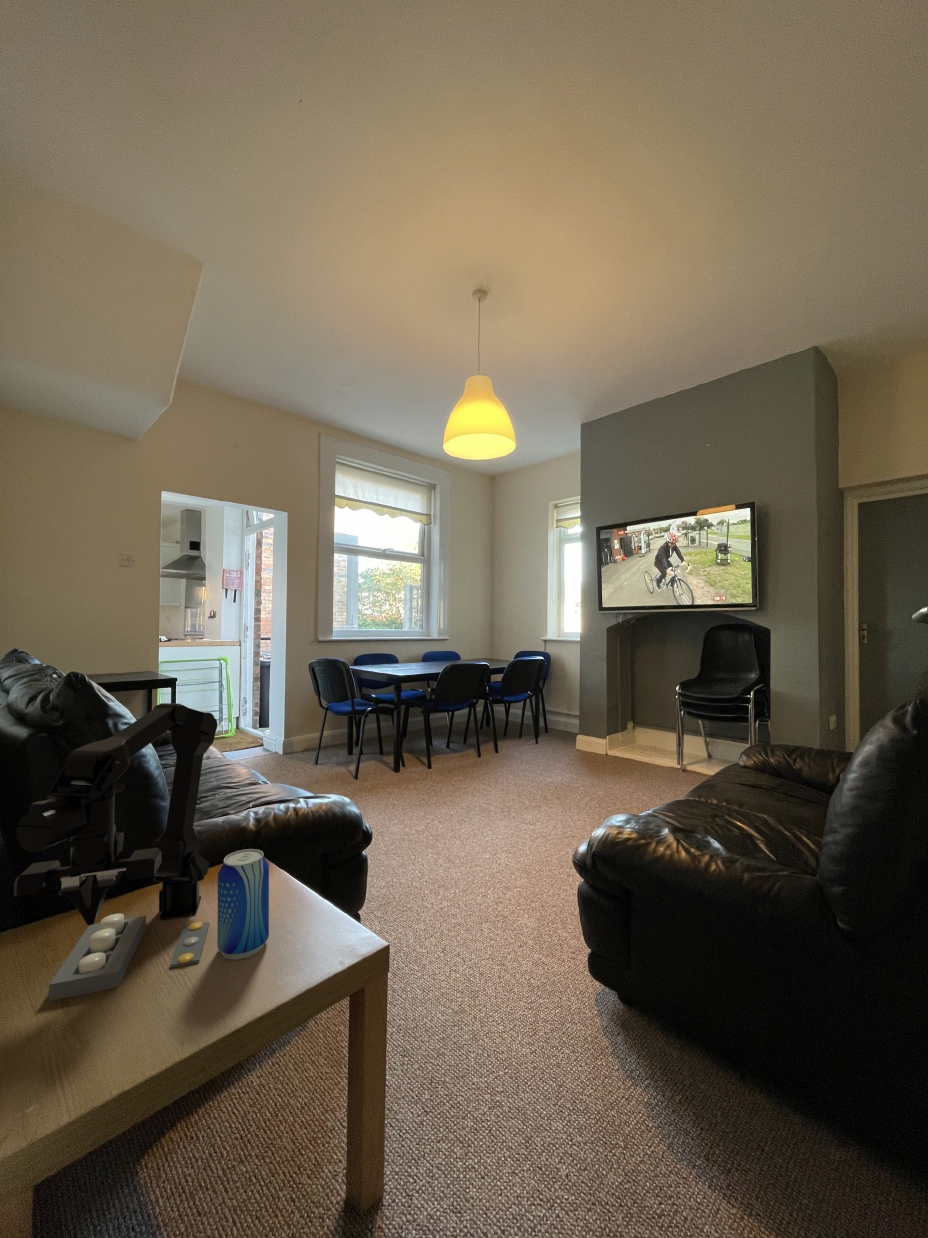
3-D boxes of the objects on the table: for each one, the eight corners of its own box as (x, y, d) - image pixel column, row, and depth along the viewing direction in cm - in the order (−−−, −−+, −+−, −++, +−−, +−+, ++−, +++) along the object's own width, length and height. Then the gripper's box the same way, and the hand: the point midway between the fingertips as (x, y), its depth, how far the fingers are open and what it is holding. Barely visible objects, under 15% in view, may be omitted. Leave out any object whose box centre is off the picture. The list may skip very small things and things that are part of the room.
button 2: (126, 926, 95) (126, 912, 95) (120, 936, 91) (120, 922, 92) (104, 929, 94) (104, 915, 94) (97, 940, 90) (97, 926, 90)
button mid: (117, 941, 90) (118, 927, 90) (111, 953, 87) (111, 938, 87) (94, 945, 89) (94, 930, 89) (86, 957, 86) (87, 942, 86)
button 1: (108, 966, 85) (108, 950, 85) (101, 979, 82) (101, 963, 82) (83, 970, 84) (83, 955, 84) (75, 984, 81) (75, 968, 81)
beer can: (277, 946, 92) (277, 856, 92) (229, 969, 85) (229, 872, 86) (255, 928, 97) (256, 843, 98) (209, 948, 91) (210, 857, 92)
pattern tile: (209, 924, 99) (209, 920, 99) (199, 963, 87) (199, 959, 87) (183, 928, 97) (183, 924, 97) (169, 969, 86) (169, 964, 86)
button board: (145, 929, 97) (145, 915, 97) (117, 987, 81) (118, 971, 81) (89, 938, 94) (89, 924, 94) (49, 1001, 78) (49, 984, 78)
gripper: (168, 804, 94) (168, 890, 94) (45, 816, 88) (44, 909, 88) (154, 825, 84) (153, 923, 83) (12, 841, 78) (11, 946, 77)
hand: (91, 923), depth 83 cm, fingers closed
